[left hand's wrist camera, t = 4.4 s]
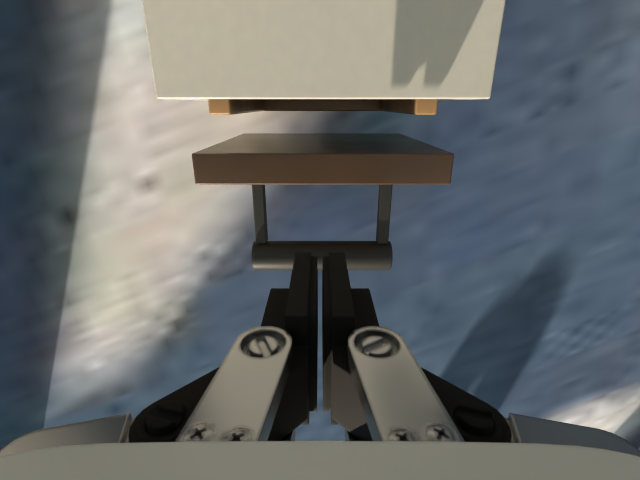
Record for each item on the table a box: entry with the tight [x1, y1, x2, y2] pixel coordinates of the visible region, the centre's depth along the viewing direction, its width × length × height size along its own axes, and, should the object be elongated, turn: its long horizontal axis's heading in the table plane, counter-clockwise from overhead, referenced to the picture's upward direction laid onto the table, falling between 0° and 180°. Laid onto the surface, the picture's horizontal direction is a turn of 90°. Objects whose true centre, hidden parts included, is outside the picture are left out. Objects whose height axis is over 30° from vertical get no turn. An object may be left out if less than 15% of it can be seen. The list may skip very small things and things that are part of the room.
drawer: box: [192, 99, 454, 270], centre depth 16 cm, size 26×10×10 cm, turn 0°
